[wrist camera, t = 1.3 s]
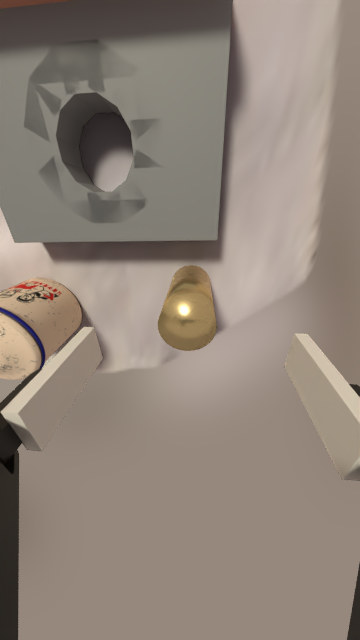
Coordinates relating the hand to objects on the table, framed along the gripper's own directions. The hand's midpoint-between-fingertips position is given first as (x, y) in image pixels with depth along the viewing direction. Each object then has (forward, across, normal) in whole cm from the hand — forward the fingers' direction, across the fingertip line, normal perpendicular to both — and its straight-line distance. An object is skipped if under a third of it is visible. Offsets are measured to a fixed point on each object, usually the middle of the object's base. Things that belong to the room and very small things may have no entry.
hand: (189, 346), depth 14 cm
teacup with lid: (+12, -21, -4) cm, 25 cm away
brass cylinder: (+12, 0, 0) cm, 12 cm away
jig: (+12, -8, +12) cm, 19 cm away
